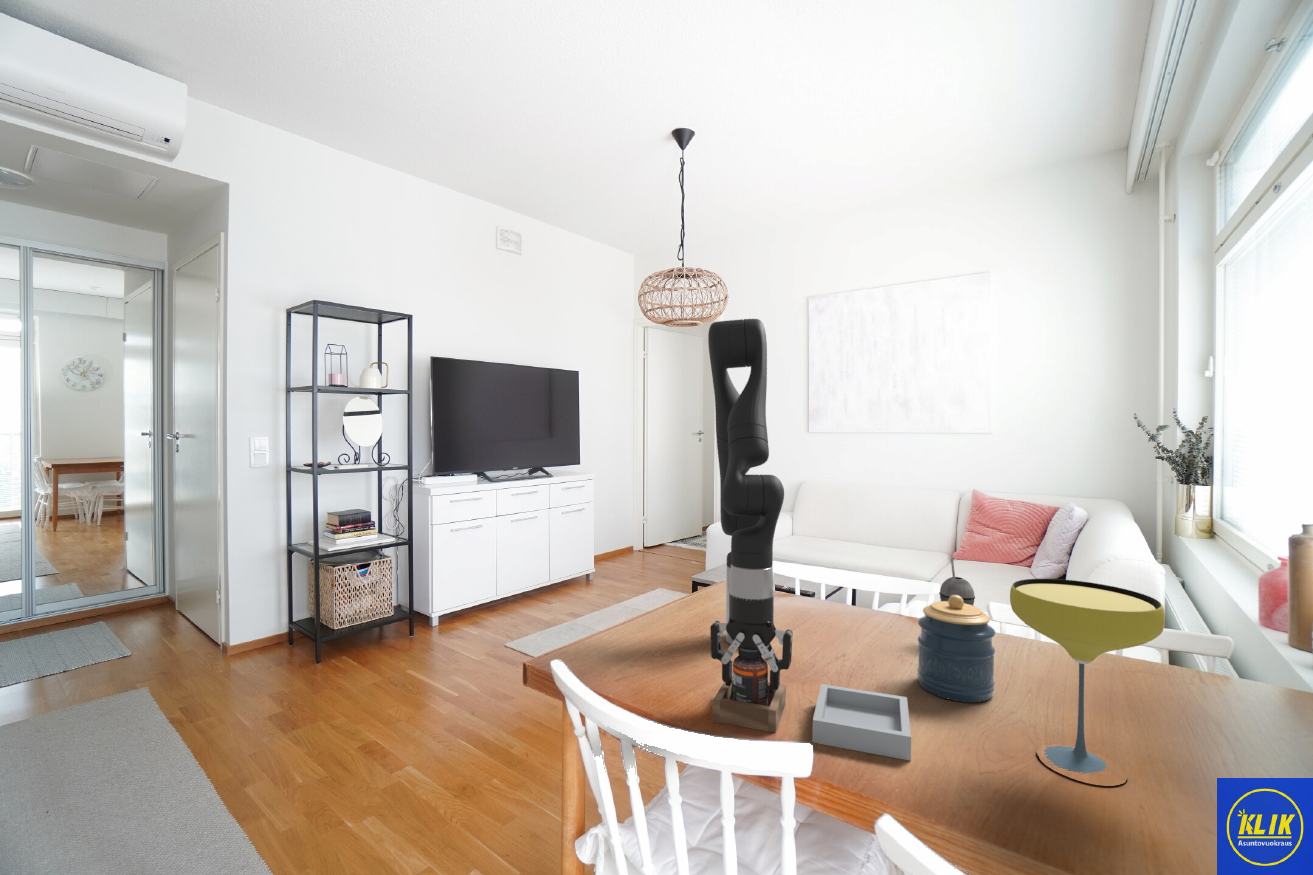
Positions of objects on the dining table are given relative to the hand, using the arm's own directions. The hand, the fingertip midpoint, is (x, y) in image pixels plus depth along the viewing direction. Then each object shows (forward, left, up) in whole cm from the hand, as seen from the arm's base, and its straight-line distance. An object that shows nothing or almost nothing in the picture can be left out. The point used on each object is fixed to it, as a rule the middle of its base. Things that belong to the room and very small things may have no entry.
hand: (750, 687), depth 101 cm
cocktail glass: (-2, +48, -5) cm, 48 cm away
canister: (-24, +34, -5) cm, 42 cm away
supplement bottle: (0, 0, -5) cm, 5 cm away
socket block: (0, 0, -4) cm, 4 cm away
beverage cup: (-49, +37, -5) cm, 62 cm away
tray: (-1, +18, -4) cm, 19 cm away
